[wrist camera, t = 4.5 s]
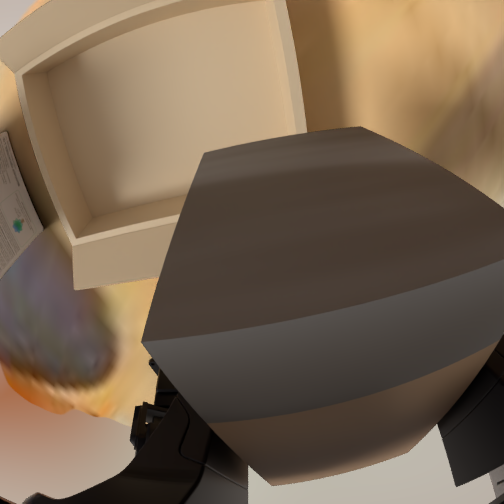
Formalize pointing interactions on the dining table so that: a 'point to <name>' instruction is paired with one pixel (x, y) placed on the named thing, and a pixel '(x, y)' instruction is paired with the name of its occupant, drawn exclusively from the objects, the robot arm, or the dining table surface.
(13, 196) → the ink cartridge box
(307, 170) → the walnut block
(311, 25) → the dining table surface
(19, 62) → the beige tray
